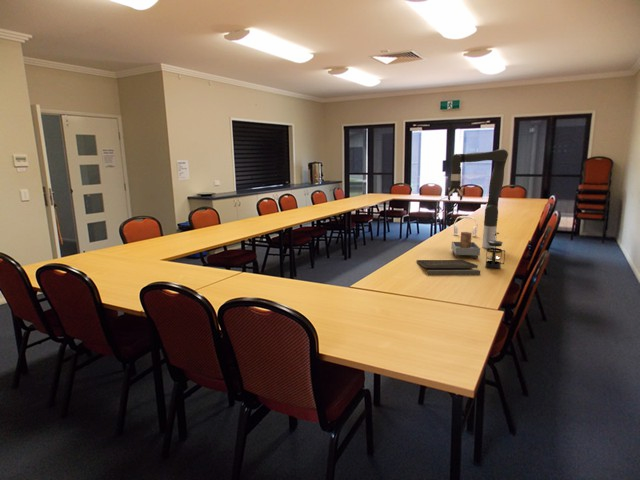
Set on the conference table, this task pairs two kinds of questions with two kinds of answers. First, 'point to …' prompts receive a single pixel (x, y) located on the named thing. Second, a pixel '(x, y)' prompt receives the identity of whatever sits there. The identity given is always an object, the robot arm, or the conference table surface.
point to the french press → (494, 254)
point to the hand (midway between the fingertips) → (454, 200)
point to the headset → (467, 218)
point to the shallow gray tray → (465, 250)
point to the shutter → (449, 265)
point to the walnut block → (465, 240)
